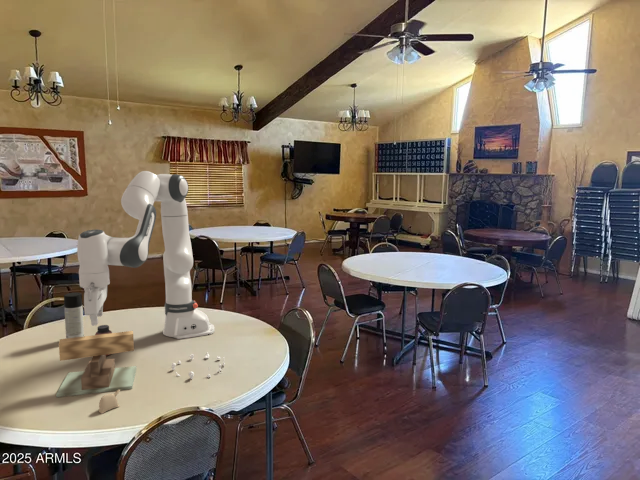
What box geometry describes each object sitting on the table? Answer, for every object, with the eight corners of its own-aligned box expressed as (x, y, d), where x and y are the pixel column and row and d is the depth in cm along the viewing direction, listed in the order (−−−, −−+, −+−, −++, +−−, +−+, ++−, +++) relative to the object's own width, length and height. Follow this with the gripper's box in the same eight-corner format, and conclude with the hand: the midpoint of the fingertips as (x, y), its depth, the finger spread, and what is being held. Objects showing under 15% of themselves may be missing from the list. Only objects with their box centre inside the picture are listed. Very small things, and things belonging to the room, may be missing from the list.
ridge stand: (136, 368, 160) (135, 342, 158) (132, 388, 145) (131, 359, 143) (68, 375, 153) (66, 348, 152) (56, 397, 138) (54, 367, 137)
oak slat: (133, 347, 154) (132, 330, 153) (133, 350, 151) (133, 334, 150) (60, 356, 144) (59, 339, 143) (59, 360, 141) (58, 342, 140)
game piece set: (207, 384, 149) (207, 374, 149) (159, 374, 156) (159, 364, 156) (236, 363, 168) (236, 353, 167) (192, 354, 174) (192, 345, 174)
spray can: (87, 337, 188) (85, 292, 186) (77, 343, 182) (75, 296, 179) (73, 336, 189) (70, 291, 186) (62, 342, 182) (59, 295, 180)
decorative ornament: (95, 410, 131) (94, 396, 130) (118, 401, 136) (117, 388, 136) (101, 414, 129) (100, 400, 128) (124, 405, 134) (123, 391, 134)
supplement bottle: (116, 353, 173) (115, 325, 172) (103, 358, 168) (102, 329, 166) (105, 350, 176) (104, 323, 174) (92, 355, 170) (91, 327, 169)
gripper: (100, 286, 135) (102, 329, 137) (109, 272, 154) (111, 310, 156) (77, 288, 133) (80, 331, 135) (89, 273, 152) (92, 312, 154)
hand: (97, 320), depth 146 cm, fingers open, 8 cm apart
